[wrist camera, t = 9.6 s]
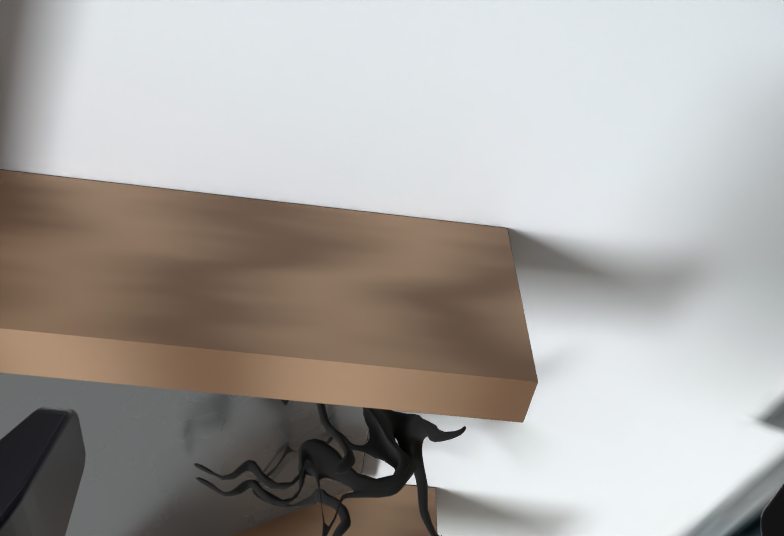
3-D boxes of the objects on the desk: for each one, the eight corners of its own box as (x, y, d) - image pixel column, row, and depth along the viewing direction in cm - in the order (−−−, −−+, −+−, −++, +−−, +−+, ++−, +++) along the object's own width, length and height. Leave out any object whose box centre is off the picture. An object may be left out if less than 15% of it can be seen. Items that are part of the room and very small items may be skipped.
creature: (201, 495, 27) (408, 458, 29) (213, 641, 23) (451, 586, 25) (178, 346, 22) (429, 313, 24) (188, 500, 18) (487, 446, 20)
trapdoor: (382, 265, 24) (394, 280, 23) (350, 472, 30) (359, 487, 30) (-37, 359, 18) (-34, 381, 18) (36, 585, 25) (39, 606, 25)
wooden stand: (507, 228, 23) (538, 381, 18) (429, 508, 32) (434, 663, 27) (-41, 165, 22) (-179, 310, 16) (41, 474, 31) (-31, 630, 26)
